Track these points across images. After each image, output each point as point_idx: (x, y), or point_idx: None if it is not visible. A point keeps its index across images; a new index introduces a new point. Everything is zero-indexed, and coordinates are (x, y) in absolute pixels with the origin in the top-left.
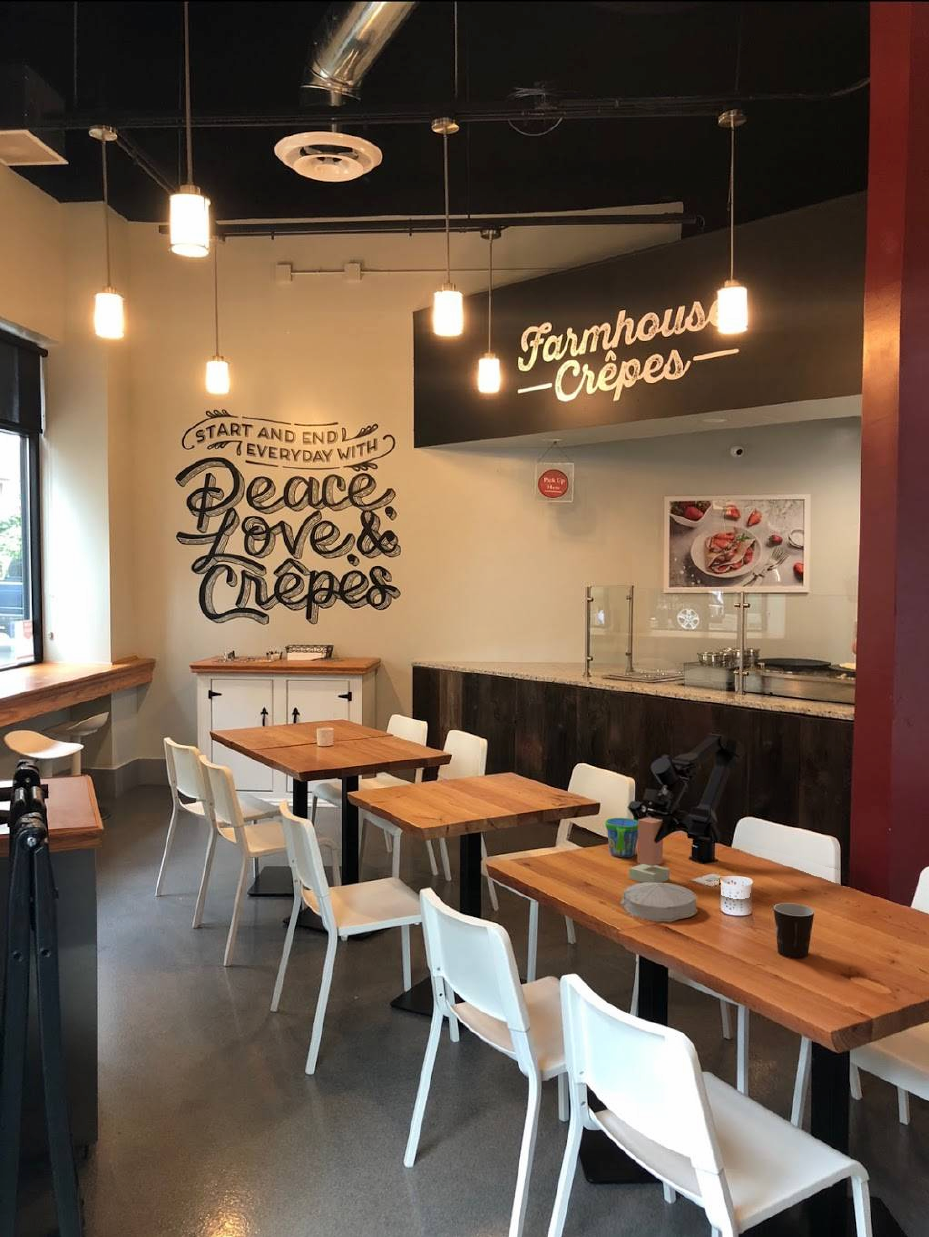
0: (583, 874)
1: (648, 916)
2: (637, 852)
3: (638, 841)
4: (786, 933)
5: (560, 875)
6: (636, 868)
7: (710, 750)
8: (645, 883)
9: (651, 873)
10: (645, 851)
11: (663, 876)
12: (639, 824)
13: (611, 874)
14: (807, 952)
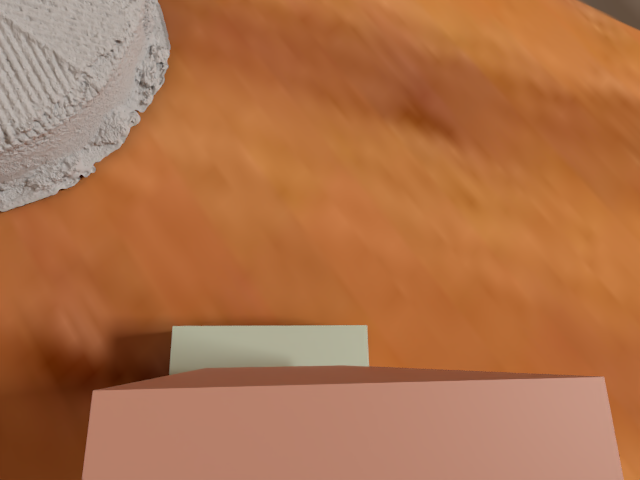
0: (534, 221)
1: None
2: (362, 366)
3: (388, 368)
4: None
5: (575, 140)
6: (335, 359)
7: None
8: (46, 28)
9: (198, 340)
10: (280, 368)
11: None
12: (491, 373)
13: (459, 325)
14: None
